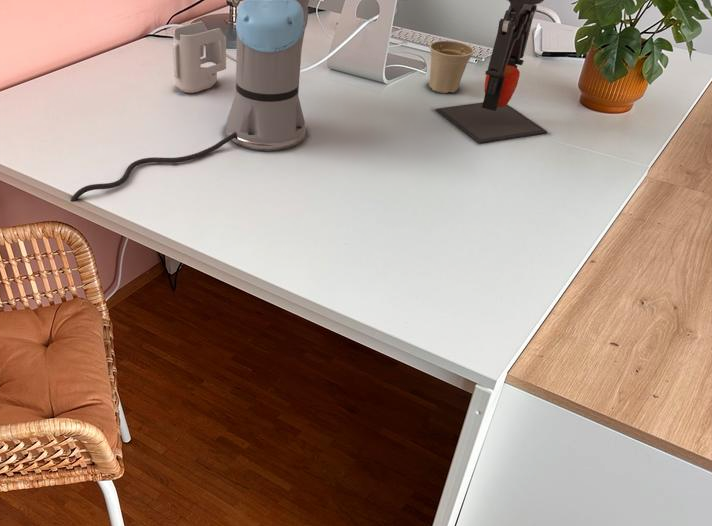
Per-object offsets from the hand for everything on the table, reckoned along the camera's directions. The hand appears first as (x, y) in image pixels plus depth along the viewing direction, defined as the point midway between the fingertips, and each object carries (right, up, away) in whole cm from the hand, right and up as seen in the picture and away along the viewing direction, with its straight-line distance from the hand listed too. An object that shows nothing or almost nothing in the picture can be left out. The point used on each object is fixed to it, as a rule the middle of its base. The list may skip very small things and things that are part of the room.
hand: (495, 102), depth 141 cm
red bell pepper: (0, 0, 0) cm, 1 cm away
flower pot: (-6, +9, +15) cm, 19 cm away
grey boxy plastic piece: (-60, +8, +12) cm, 62 cm away
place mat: (0, -3, +3) cm, 4 cm away
